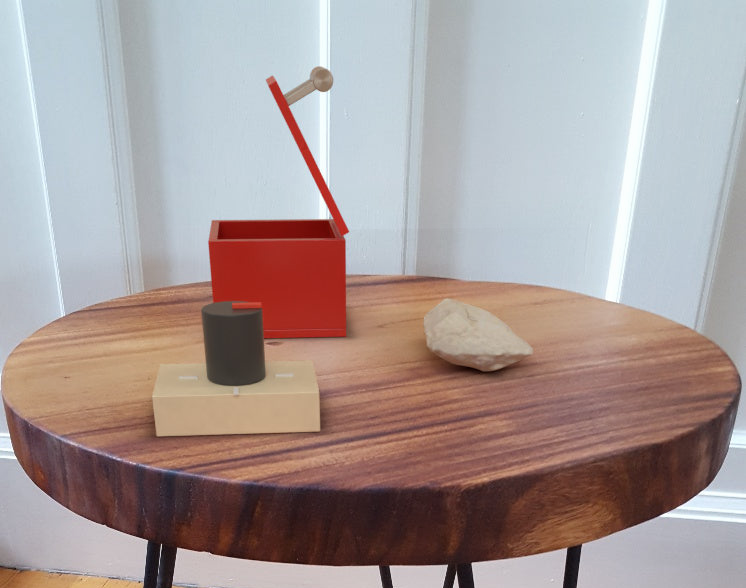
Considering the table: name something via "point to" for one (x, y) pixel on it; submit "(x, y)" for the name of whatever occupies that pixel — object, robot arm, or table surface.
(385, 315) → the table surface
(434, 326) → the stone
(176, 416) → the panel
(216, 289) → the red open box
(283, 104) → the box lid
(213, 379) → the valve knob
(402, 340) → the table surface
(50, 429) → the table surface
